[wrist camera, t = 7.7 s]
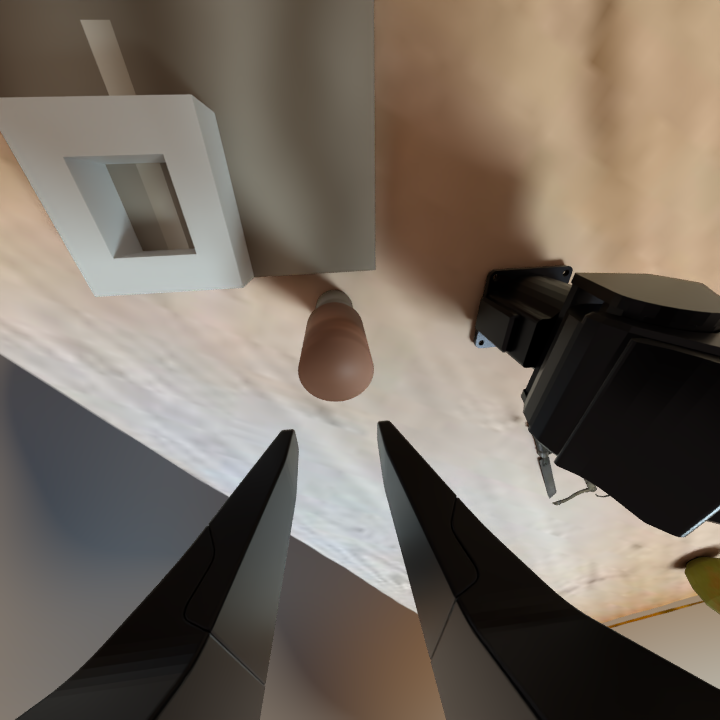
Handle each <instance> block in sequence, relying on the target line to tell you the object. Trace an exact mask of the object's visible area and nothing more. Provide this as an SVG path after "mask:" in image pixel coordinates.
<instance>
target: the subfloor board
mask: <svg viewBox="0 0 720 720" xmlns="http://www.w3.org/2000/svg"><path fill="white" fill-rule="evenodd" d="M186 94H191V95H193V96H194V97H195V98H196V99H198V100H199V101H200V102H202V103H203V104H204V105H205V106H207V107H208V108H209V109H211V110H212V111H213V112H214V113H215V117H216V121H217V125H218V129H219V134H220V138H221V142H222V146H223V150H224V154H225V158H226V163H227V167H228V171H229V175H230V179H231V183H232V187H233V192H234V196H235V200H236V204H237V208H238V212H239V216H240V221H241V225H242V229H243V233H244V237H245V241H246V245H247V250H248V254H249V258H250V262H251V266H252V270H253V274H254V277H267V276H284V275H300V274H317V273H334V272H351V271H368V270H376V265H375V96H374V0H0V98H5V97H65V96H126V95H186ZM105 165H106V167H107V170H108V172H109V174H110V177H111V179H112V181H113V183H114V186H115V188H116V190H117V193H118V195H119V197H120V200H121V202H122V204H123V206H124V209H125V211H126V213H127V216H128V218H129V220H130V222H131V225H132V227H133V229H134V232H135V234H136V236H137V239H138V241H139V243H140V245H141V248H142V250H143V251H156V250H175V249H194V248H195V247H194V244H193V241H192V238H191V235H190V232H189V229H188V227H187V224H186V221H185V218H184V215H183V212H182V209H181V206H180V203H179V200H178V197H177V194H176V191H175V188H174V185H173V182H172V179H171V176H170V173H169V170H168V167H167V164H166V162H164V163H133V164H105Z"/></svg>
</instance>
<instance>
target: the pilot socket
mask: <svg viewBox="0 0 720 720" xmlns="http://www.w3.org/2000/svg"><path fill="white" fill-rule="evenodd" d="M0 131H1V133H2V135H3V137H4V138H5V140H6V142H7V144H8V145H9V147H10V149H11V151H12V152H13V154H14V156H15V158H16V159H17V161H18V163H19V165H20V166H21V168H22V170H23V172H24V173H25V175H26V177H27V179H28V180H29V182H30V184H31V186H32V187H33V189H34V191H35V193H36V194H37V196H38V198H39V200H40V201H41V203H42V205H43V207H44V208H45V210H46V212H47V214H48V215H49V217H50V219H51V221H52V222H53V224H54V226H55V228H56V229H57V231H58V233H59V235H60V236H61V238H62V240H63V242H64V243H65V245H66V247H67V249H68V250H69V252H70V254H71V256H72V257H73V259H74V261H75V263H76V264H77V266H78V268H79V270H80V271H81V273H82V275H83V277H84V278H85V280H86V282H87V284H88V285H89V287H90V289H91V291H92V292H93V294H94V296H95V297H100V296H117V295H133V294H149V293H165V292H182V291H198V290H214V289H231V288H243V287H244V286H245V285H247V284H248V283H249V282H250V281H251V280H252V279H253V278H254V274H253V270H252V266H251V262H250V258H249V254H248V250H247V245H246V241H245V237H244V233H243V229H242V225H241V221H240V216H239V212H238V208H237V204H236V200H235V196H234V192H233V187H232V183H231V179H230V175H229V171H228V167H227V163H226V158H225V154H224V150H223V146H222V142H221V138H220V134H219V129H218V125H217V121H216V117H215V113H214V112H213V111H212V110H211V109H209V108H208V107H207V106H205V105H204V104H203V103H202V102H200V101H199V100H198V99H196V98H195V97H194V96H193V95H191V94H186V95H126V96H65V97H5V98H0ZM164 162H166V164H167V167H168V170H169V173H170V176H171V179H172V182H173V185H174V188H175V191H176V194H177V197H178V200H179V203H180V206H181V209H182V212H183V215H184V218H185V221H186V224H187V227H188V229H189V232H190V235H191V238H192V241H193V244H194V247H195V248H194V249H175V250H156V251H143V250H142V248H141V245H140V243H139V241H138V239H137V236H136V234H135V232H134V229H133V227H132V225H131V222H130V220H129V218H128V216H127V213H126V211H125V209H124V206H123V204H122V202H121V200H120V197H119V195H118V193H117V190H116V188H115V186H114V183H113V181H112V179H111V177H110V174H109V172H108V170H107V167H106V165H105V164H133V163H164Z"/></svg>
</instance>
